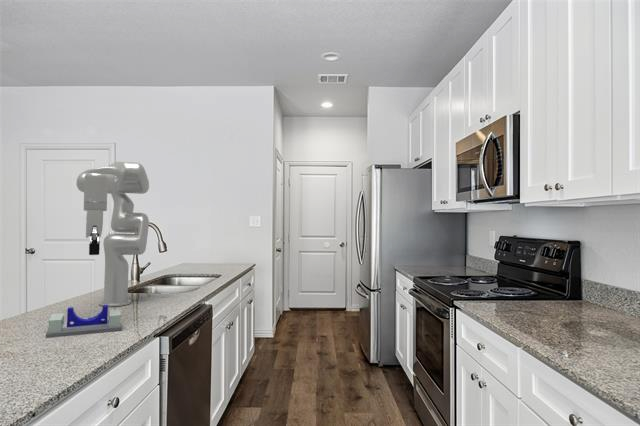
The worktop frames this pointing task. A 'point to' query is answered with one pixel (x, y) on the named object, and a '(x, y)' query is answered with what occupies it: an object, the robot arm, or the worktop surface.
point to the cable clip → (85, 322)
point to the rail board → (61, 329)
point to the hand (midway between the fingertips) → (94, 253)
